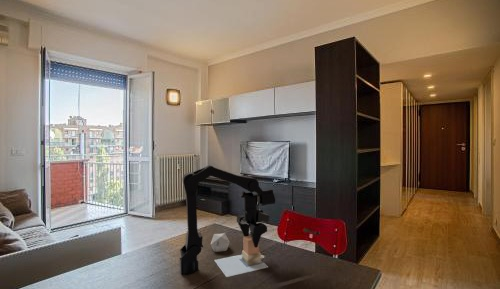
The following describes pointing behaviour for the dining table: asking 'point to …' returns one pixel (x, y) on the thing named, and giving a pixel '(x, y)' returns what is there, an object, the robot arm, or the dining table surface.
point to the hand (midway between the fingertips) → (251, 243)
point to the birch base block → (251, 258)
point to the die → (220, 242)
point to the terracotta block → (249, 246)
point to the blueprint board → (237, 265)
